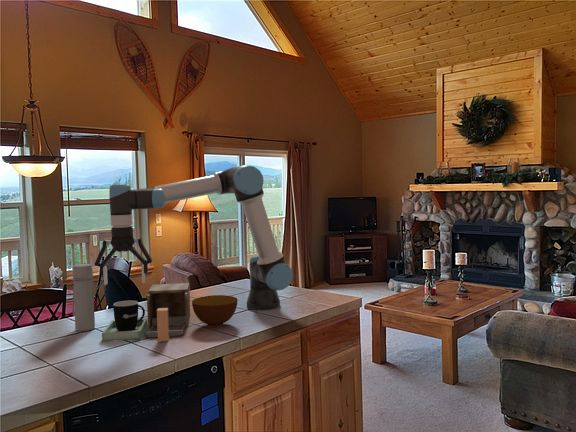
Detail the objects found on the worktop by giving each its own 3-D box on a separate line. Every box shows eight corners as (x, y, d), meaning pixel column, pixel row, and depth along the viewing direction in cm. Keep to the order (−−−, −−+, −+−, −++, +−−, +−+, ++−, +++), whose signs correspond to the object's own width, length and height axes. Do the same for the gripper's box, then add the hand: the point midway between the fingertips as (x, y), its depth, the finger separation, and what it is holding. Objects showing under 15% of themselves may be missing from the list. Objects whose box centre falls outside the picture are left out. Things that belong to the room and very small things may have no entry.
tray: (147, 326, 190) (146, 318, 190) (140, 339, 174) (140, 331, 174) (112, 328, 188) (111, 320, 188) (102, 341, 172) (101, 333, 172)
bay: (190, 315, 205) (189, 283, 204) (187, 327, 188) (186, 291, 187) (153, 317, 203) (152, 284, 202) (147, 329, 186) (146, 293, 185)
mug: (120, 334, 177) (119, 307, 176) (110, 329, 183) (109, 303, 183) (150, 327, 185) (149, 301, 185) (139, 323, 192) (138, 298, 191)
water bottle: (100, 327, 190) (97, 264, 188) (85, 333, 182) (82, 267, 181) (81, 325, 193) (78, 263, 191) (66, 331, 185) (63, 266, 184)
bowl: (220, 316, 203) (219, 293, 202) (247, 325, 190) (246, 299, 189) (183, 325, 190) (183, 300, 190) (210, 335, 178) (209, 308, 177)
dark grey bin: (185, 323, 192) (184, 296, 192) (181, 340, 171) (180, 309, 171) (152, 325, 190) (151, 297, 190) (144, 342, 169) (143, 311, 169)
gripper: (157, 224, 184) (160, 279, 186) (89, 226, 181) (92, 283, 182) (155, 225, 177) (158, 283, 178) (83, 228, 173) (87, 287, 175)
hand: (124, 283), depth 180 cm, fingers open, 13 cm apart
